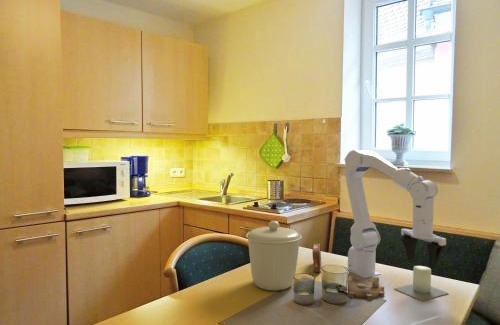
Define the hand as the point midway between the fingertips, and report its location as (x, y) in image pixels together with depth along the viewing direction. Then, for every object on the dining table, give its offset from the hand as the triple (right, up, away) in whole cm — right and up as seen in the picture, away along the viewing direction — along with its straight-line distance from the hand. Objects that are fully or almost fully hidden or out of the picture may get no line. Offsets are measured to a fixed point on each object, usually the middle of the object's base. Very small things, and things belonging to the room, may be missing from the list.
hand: (421, 262), depth 115 cm
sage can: (0, -9, +1) cm, 9 cm away
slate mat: (0, -9, 0) cm, 9 cm away
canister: (-46, -9, +6) cm, 47 cm away
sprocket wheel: (-18, -9, +1) cm, 20 cm away
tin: (-28, -9, +23) cm, 38 cm away
